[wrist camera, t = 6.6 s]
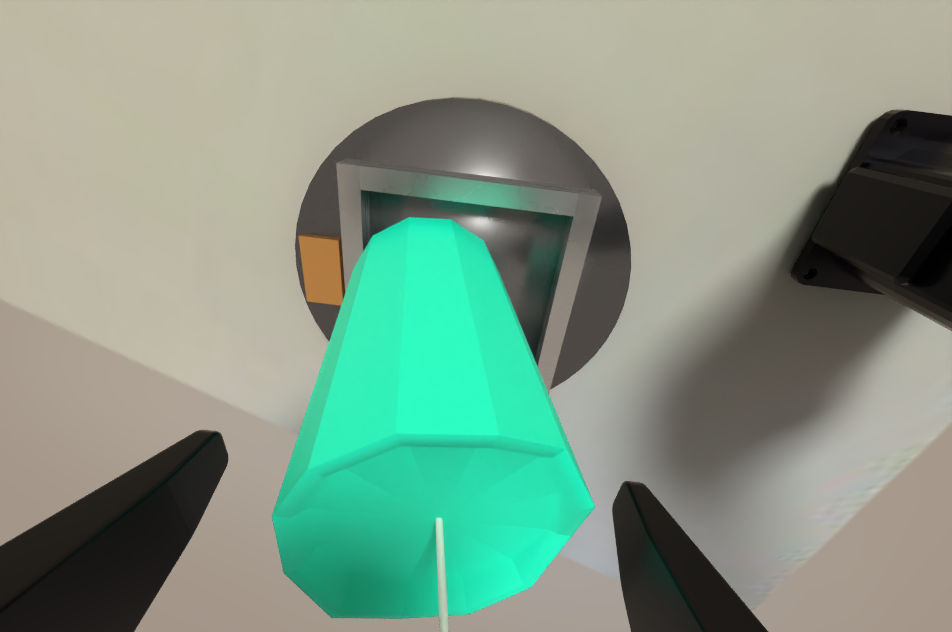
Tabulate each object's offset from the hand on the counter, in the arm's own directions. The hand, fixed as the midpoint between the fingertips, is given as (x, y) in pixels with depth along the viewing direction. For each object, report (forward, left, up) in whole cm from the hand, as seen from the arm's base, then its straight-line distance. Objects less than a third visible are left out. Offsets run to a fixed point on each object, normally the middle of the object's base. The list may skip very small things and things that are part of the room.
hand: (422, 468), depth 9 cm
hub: (0, 0, -10) cm, 10 cm away
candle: (+1, 0, -9) cm, 9 cm away
